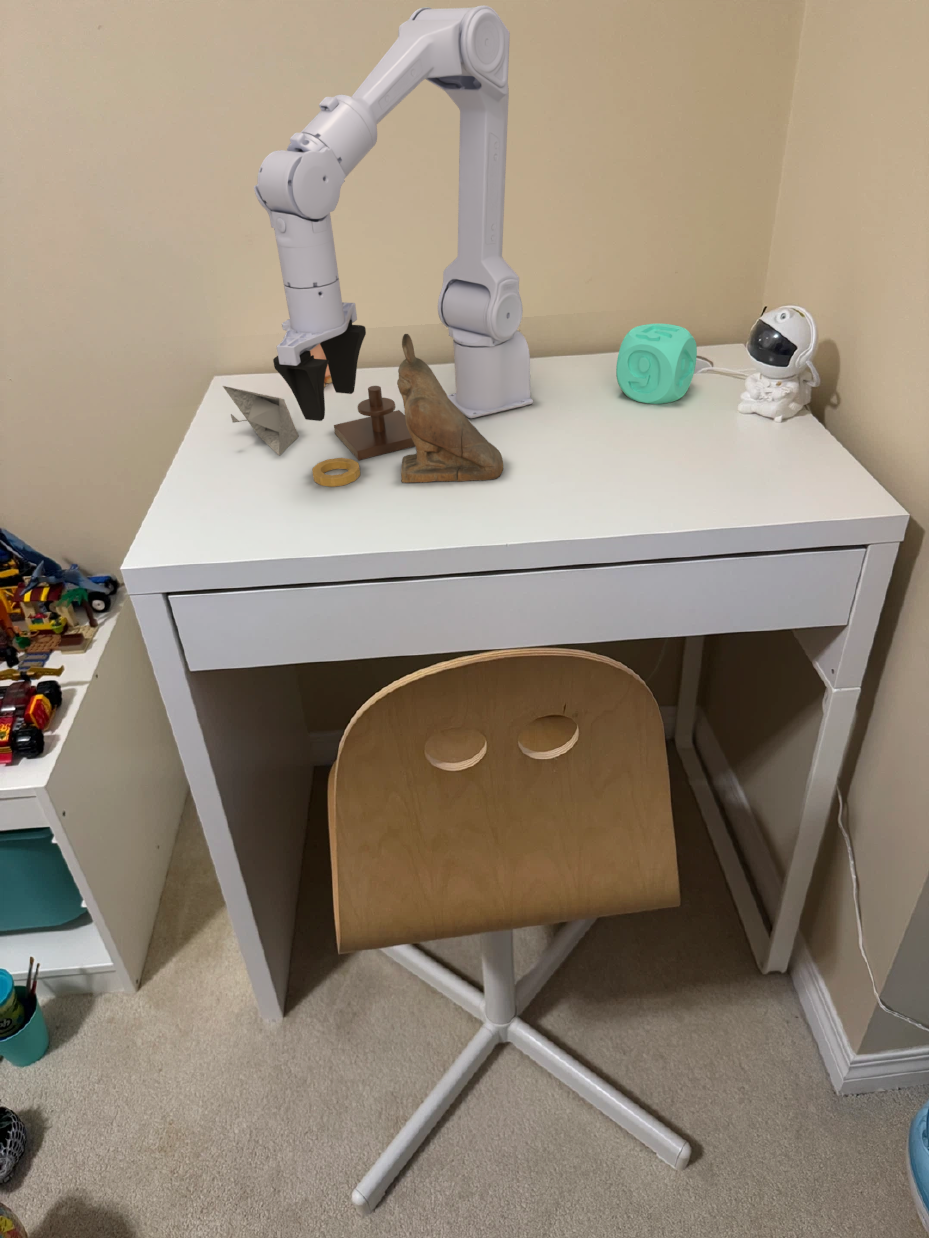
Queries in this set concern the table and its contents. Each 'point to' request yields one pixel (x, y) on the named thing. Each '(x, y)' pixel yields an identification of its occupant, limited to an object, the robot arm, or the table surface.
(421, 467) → the worn brown figurine
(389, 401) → the peg stand
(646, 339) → the decorative dice
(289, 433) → the paper boat
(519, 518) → the table surface
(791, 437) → the table surface
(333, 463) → the brass ring
